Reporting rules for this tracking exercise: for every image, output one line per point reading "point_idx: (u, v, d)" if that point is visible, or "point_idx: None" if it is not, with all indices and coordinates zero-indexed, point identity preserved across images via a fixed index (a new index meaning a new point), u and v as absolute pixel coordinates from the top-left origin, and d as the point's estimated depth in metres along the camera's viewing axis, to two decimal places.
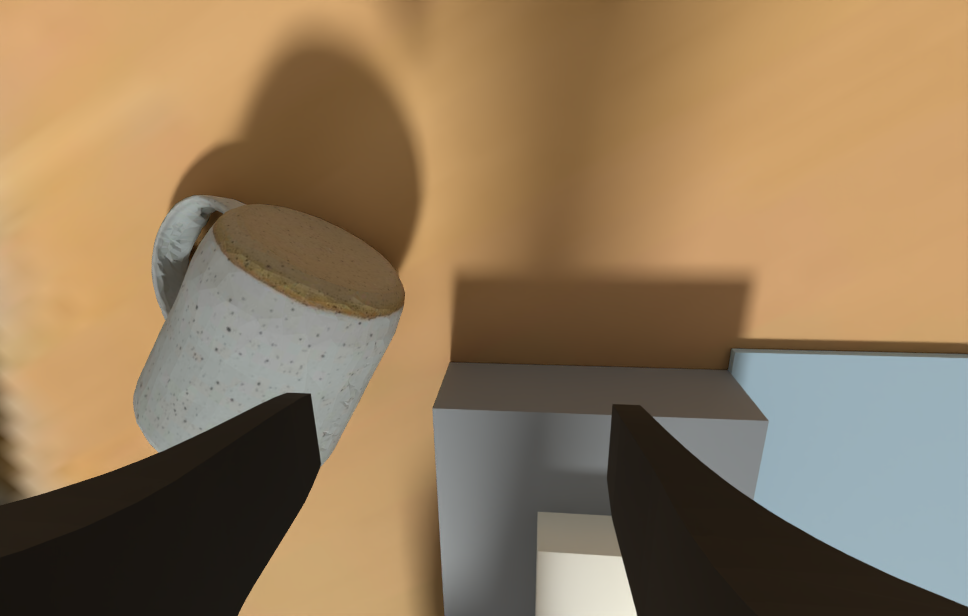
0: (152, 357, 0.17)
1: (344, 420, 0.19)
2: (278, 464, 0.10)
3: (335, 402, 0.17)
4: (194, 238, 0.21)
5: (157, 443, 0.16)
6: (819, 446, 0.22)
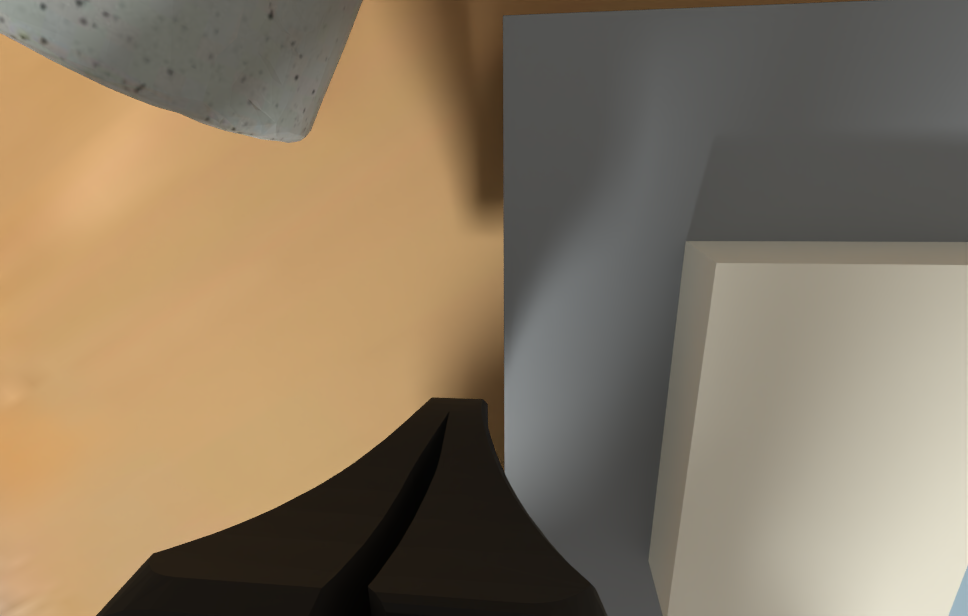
0: None
1: (314, 21, 0.10)
2: None
3: None
4: None
5: None
6: None
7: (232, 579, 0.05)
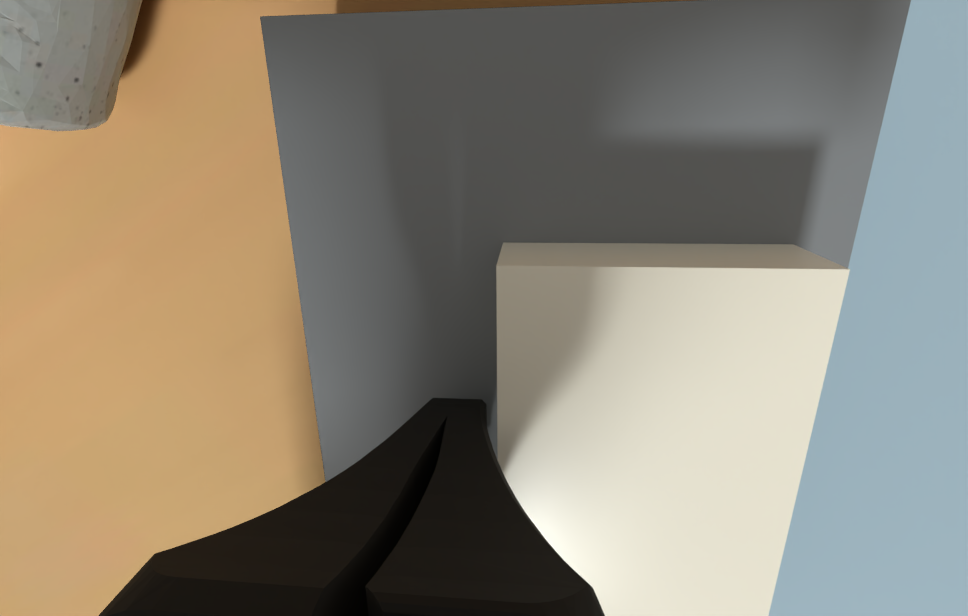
0: None
1: (45, 8, 0.10)
2: None
3: None
4: None
5: None
6: (951, 172, 0.13)
7: (234, 579, 0.05)
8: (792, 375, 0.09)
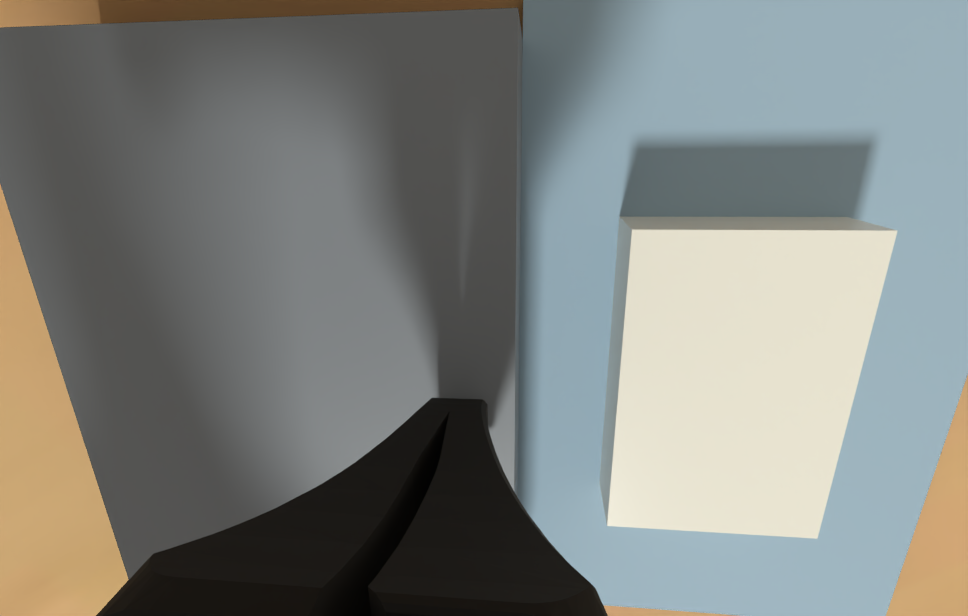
0: None
1: None
2: None
3: None
4: None
5: None
6: (674, 174, 0.14)
7: (233, 578, 0.05)
8: None
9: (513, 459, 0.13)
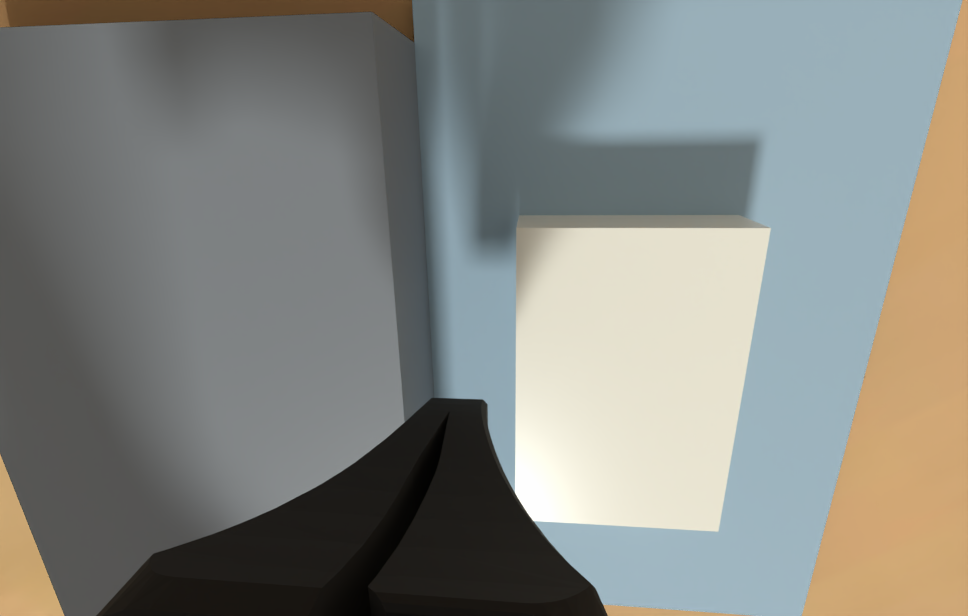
0: None
1: None
2: None
3: None
4: None
5: None
6: (569, 173, 0.14)
7: (232, 578, 0.05)
8: None
9: None
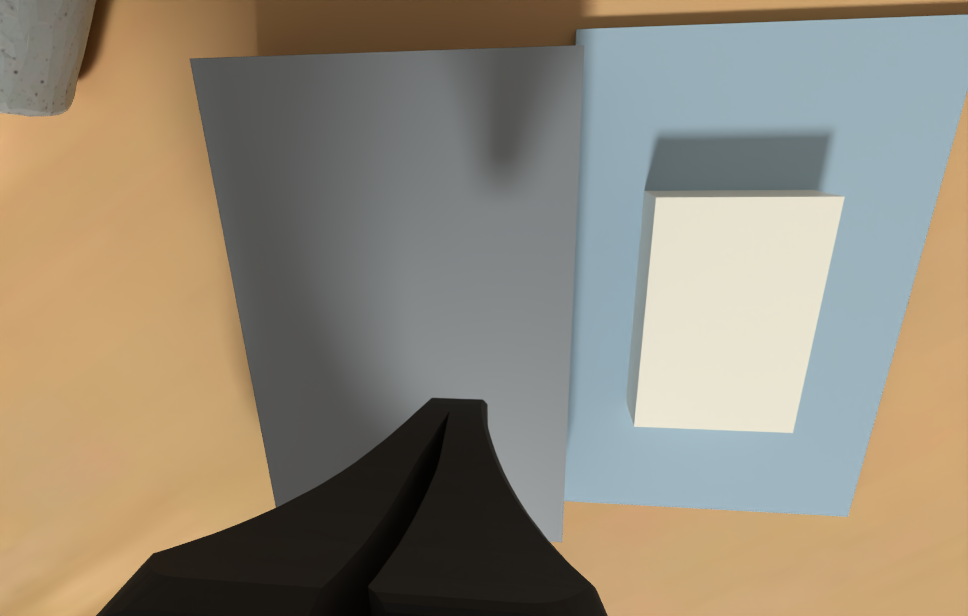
0: None
1: (19, 36, 0.15)
2: None
3: None
4: None
5: None
6: (685, 158, 0.18)
7: (233, 578, 0.05)
8: None
9: (569, 365, 0.18)
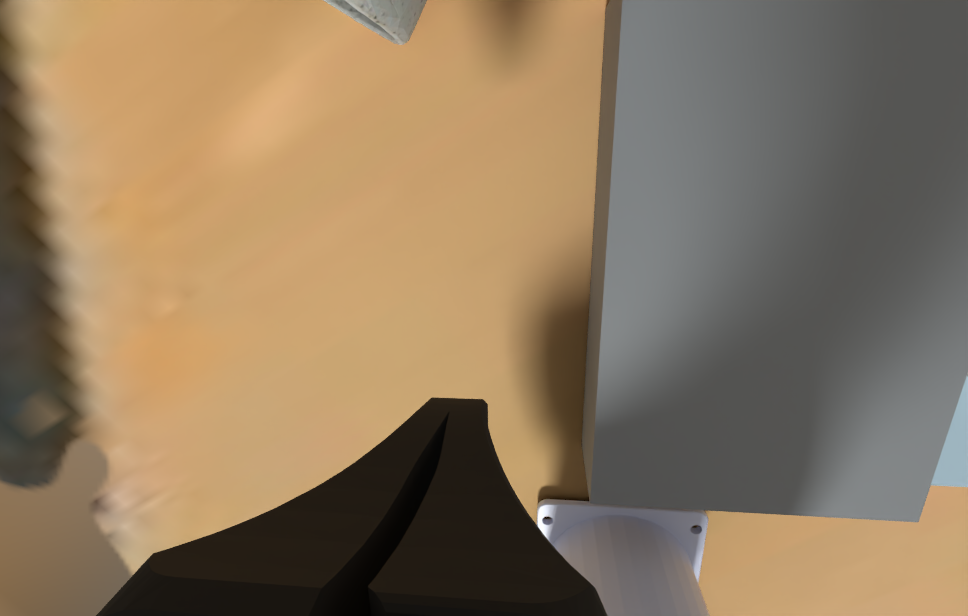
0: None
1: None
2: None
3: None
4: None
5: None
6: None
7: (232, 579, 0.05)
8: None
9: None
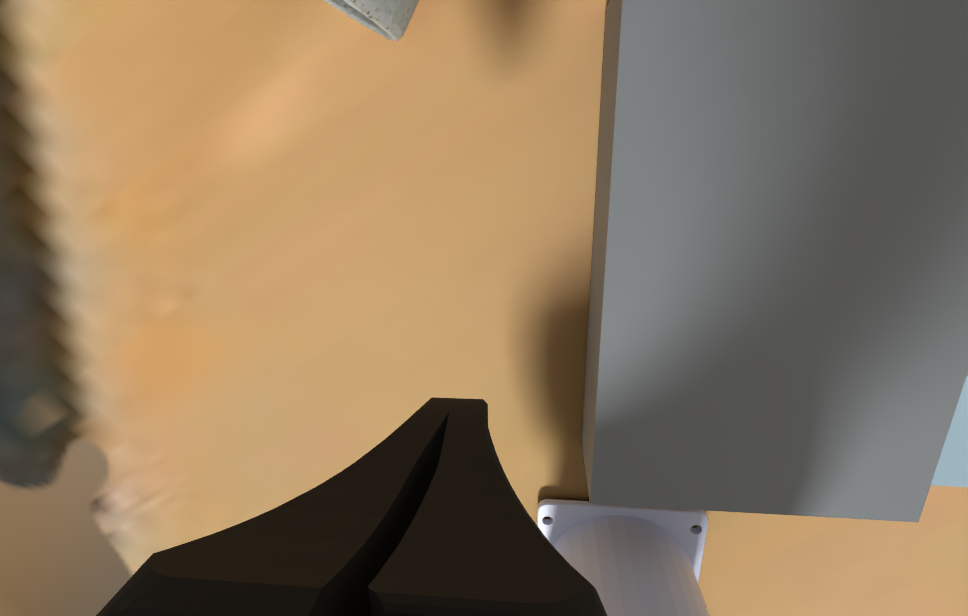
0: None
1: None
2: None
3: None
4: None
5: None
6: None
7: (232, 579, 0.05)
8: None
9: None
